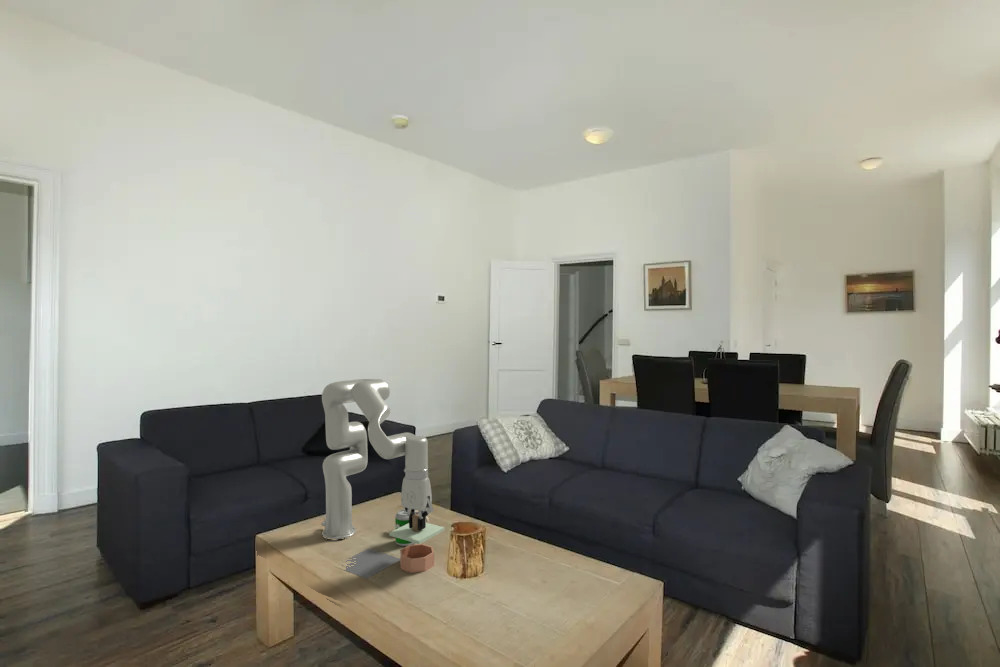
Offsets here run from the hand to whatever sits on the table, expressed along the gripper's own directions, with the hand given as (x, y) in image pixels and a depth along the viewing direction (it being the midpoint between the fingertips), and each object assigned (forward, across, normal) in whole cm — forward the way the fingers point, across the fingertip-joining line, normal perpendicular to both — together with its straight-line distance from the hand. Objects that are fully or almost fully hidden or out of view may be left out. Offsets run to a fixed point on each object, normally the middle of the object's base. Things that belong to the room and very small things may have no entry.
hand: (417, 527), depth 176 cm
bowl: (+13, 0, 0) cm, 13 cm away
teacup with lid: (+13, -19, +22) cm, 32 cm away
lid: (+2, 0, 0) cm, 2 cm away
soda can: (+13, -15, +11) cm, 23 cm away
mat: (+13, -15, -8) cm, 22 cm away
